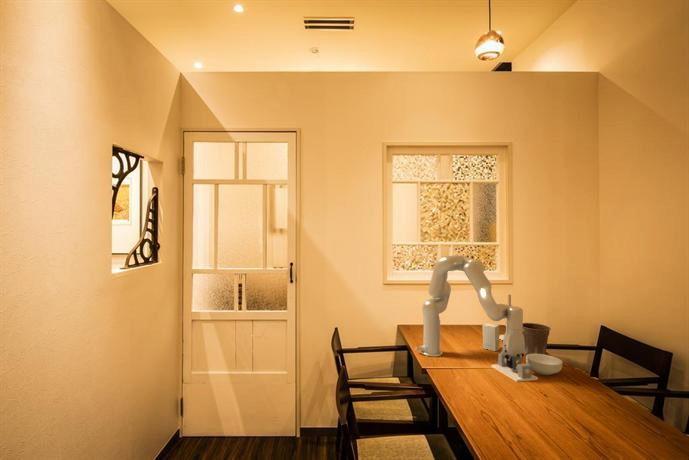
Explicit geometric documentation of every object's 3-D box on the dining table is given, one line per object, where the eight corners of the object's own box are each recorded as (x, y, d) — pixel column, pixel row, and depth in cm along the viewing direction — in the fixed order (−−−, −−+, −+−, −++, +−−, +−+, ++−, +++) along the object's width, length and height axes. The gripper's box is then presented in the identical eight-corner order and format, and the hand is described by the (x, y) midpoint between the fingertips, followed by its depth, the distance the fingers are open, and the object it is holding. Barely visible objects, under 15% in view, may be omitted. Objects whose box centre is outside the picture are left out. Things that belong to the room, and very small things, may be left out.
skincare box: (499, 349, 233) (500, 325, 233) (495, 351, 229) (495, 327, 229) (486, 346, 239) (486, 322, 239) (481, 348, 235) (482, 324, 235)
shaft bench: (516, 381, 185) (516, 367, 185) (491, 366, 205) (491, 353, 205) (538, 379, 188) (538, 365, 188) (511, 365, 208) (511, 352, 207)
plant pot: (543, 349, 234) (543, 323, 234) (555, 358, 218) (555, 330, 218) (515, 348, 236) (515, 322, 236) (525, 357, 220) (525, 329, 220)
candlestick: (493, 337, 258) (494, 292, 258) (507, 335, 263) (508, 291, 263) (509, 343, 246) (510, 296, 246) (523, 340, 252) (524, 295, 251)
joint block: (505, 365, 199) (505, 354, 199) (513, 365, 200) (513, 353, 200) (514, 370, 193) (514, 358, 193) (521, 369, 194) (522, 358, 194)
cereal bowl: (567, 380, 188) (567, 365, 188) (530, 377, 192) (530, 362, 191) (555, 367, 205) (555, 354, 205) (522, 364, 208) (522, 351, 208)
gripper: (523, 328, 202) (523, 363, 202) (495, 330, 198) (494, 365, 198) (533, 332, 194) (533, 368, 195) (504, 334, 191) (503, 371, 191)
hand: (513, 366), depth 197 cm, fingers closed on joint block, 4 cm apart
